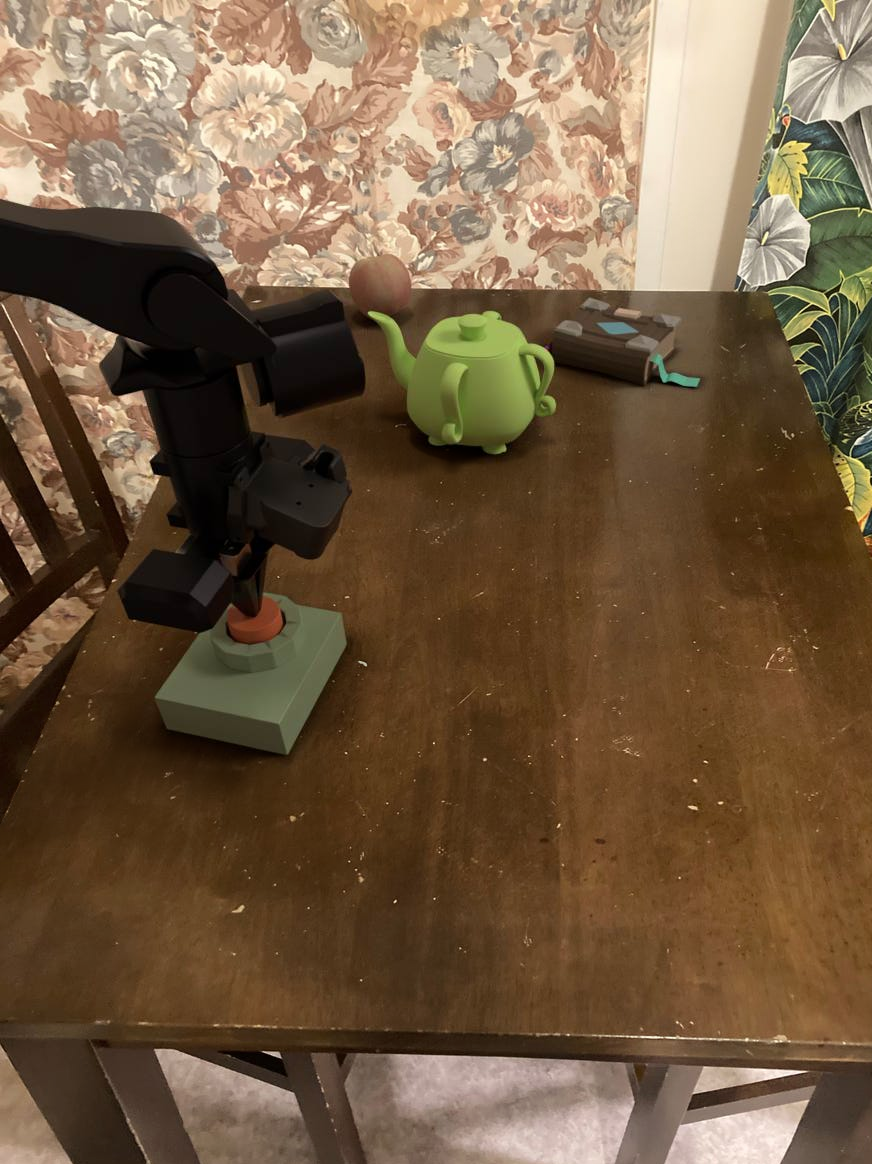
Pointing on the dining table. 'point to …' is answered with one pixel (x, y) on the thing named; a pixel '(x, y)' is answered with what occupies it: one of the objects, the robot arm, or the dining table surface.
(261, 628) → the lid button
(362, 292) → the apple
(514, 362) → the teapot
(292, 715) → the push button box
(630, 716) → the dining table surface
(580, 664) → the dining table surface
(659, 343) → the book
